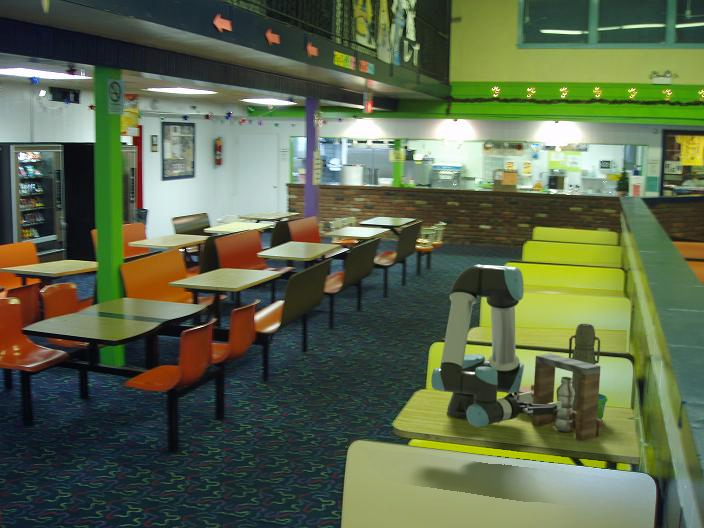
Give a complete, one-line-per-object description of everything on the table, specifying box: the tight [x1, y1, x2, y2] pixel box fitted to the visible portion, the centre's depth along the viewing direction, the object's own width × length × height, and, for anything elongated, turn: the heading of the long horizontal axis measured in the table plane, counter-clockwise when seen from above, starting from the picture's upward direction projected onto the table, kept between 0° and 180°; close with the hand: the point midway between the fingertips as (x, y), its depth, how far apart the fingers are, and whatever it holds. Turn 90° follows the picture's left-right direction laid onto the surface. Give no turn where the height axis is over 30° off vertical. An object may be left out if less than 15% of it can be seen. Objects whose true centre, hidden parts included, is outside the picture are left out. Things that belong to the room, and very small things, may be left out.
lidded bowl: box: [517, 384, 534, 415], centre depth 320 cm, size 13×13×11 cm
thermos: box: [568, 323, 601, 412], centre depth 323 cm, size 9×12×35 cm
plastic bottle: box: [554, 376, 575, 433], centre depth 296 cm, size 6×7×20 cm
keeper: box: [531, 353, 604, 442], centre depth 297 cm, size 23×12×26 cm, turn 36°
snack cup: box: [597, 393, 608, 420], centre depth 310 cm, size 16×10×10 cm
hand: (545, 399), depth 290 cm, fingers open, 13 cm apart
